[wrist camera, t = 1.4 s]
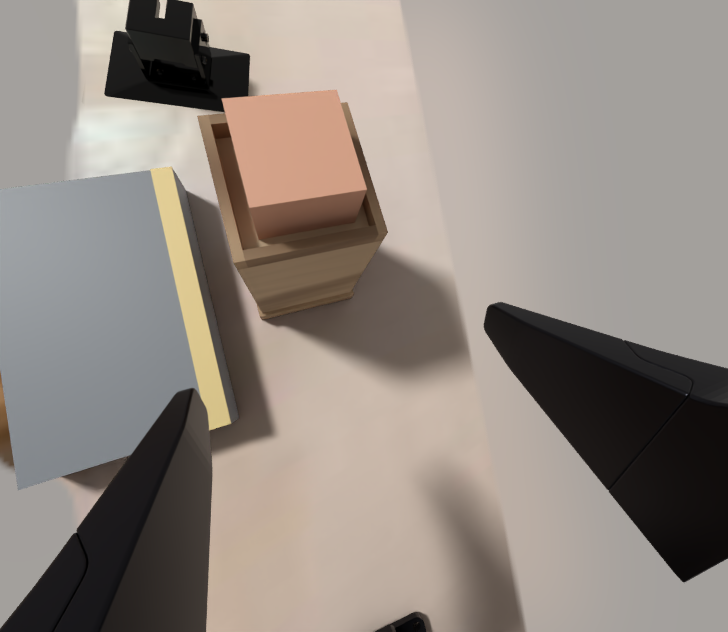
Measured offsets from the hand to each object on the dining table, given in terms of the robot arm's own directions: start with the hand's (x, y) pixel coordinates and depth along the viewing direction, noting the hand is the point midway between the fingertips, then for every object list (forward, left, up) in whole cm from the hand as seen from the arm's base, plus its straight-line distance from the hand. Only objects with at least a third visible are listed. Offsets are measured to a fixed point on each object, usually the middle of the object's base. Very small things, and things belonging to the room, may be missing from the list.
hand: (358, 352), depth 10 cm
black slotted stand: (+24, +4, -14) cm, 28 cm away
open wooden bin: (+7, 0, -13) cm, 15 cm away
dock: (+6, +11, -13) cm, 18 cm away
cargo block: (+7, 0, -3) cm, 8 cm away
